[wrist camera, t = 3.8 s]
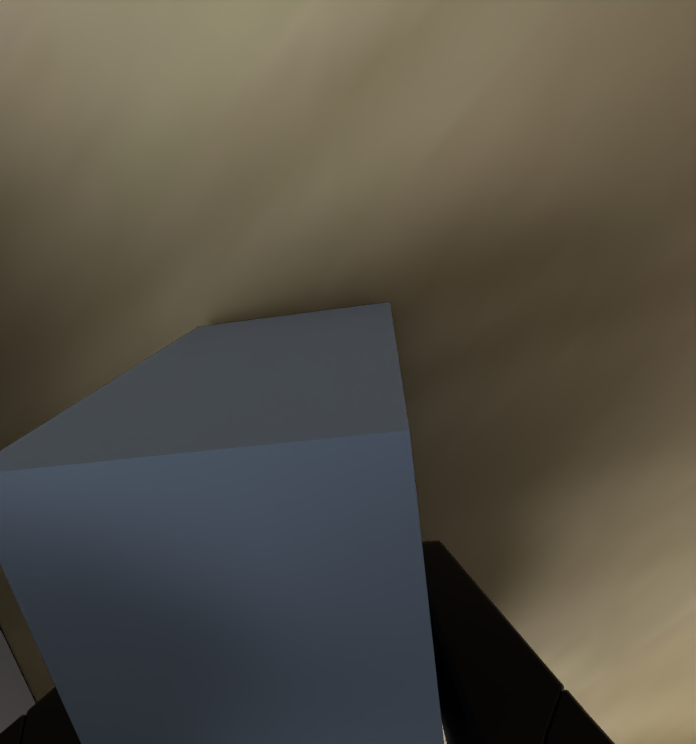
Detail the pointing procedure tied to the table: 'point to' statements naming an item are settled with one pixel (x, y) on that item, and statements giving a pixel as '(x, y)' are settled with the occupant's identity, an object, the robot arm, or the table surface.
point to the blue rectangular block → (232, 542)
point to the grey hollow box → (11, 688)
